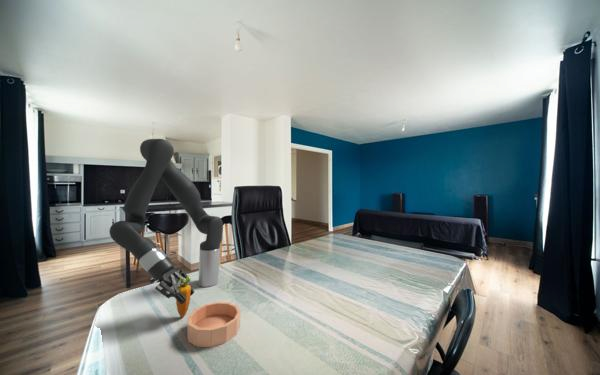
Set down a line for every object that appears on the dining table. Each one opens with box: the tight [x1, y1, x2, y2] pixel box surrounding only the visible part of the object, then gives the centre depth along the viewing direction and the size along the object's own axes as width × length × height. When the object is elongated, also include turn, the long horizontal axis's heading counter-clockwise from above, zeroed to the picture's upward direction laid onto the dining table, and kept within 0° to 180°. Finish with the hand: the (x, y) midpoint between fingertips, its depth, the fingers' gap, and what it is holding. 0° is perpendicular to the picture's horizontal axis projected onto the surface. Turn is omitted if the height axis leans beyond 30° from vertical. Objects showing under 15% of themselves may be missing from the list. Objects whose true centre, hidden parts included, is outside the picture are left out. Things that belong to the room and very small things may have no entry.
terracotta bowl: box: [186, 301, 242, 348], centre depth 72 cm, size 16×16×5 cm
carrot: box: [175, 274, 192, 318], centre depth 78 cm, size 5×5×15 cm
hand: (188, 297), depth 78 cm, fingers closed on carrot, 5 cm apart
